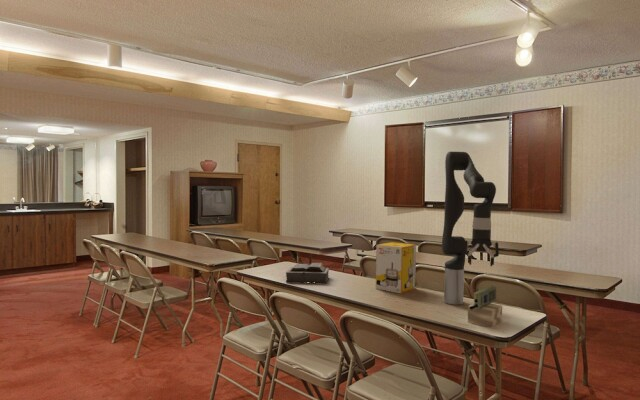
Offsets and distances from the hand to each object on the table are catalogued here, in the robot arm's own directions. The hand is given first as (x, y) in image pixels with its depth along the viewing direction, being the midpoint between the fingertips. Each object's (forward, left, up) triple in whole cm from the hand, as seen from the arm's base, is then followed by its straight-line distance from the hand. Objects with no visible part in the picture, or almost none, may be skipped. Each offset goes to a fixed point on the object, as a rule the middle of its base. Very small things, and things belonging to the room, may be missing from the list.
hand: (480, 265), depth 195 cm
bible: (-44, -101, -25) cm, 113 cm away
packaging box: (-45, -47, -24) cm, 69 cm away
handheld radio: (0, +1, -18) cm, 18 cm away
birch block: (+1, +2, -24) cm, 24 cm away
